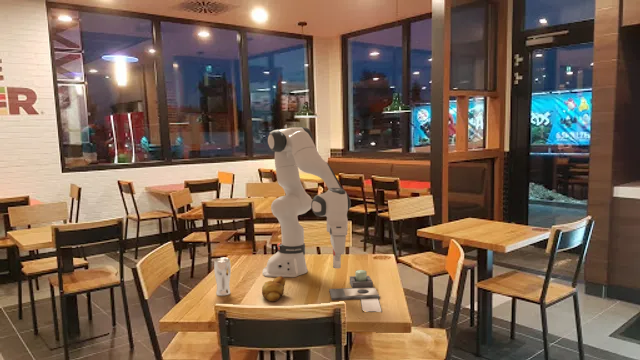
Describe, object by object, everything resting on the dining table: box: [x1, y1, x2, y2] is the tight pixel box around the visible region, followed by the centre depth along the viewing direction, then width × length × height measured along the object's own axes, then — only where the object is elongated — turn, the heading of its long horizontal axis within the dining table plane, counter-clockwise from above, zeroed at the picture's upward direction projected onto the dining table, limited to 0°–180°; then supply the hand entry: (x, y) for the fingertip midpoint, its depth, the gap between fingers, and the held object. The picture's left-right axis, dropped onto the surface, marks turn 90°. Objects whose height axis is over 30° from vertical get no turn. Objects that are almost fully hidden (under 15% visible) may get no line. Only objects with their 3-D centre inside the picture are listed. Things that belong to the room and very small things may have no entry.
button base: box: [349, 275, 374, 288], centre depth 205 cm, size 9×9×3 cm
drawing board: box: [328, 286, 381, 301], centre depth 194 cm, size 20×11×1 cm, turn 95°
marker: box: [332, 248, 342, 269], centre depth 192 cm, size 3×3×8 cm
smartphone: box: [359, 298, 383, 313], centre depth 183 cm, size 8×1×16 cm
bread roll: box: [261, 276, 286, 302], centre depth 191 cm, size 13×10×8 cm
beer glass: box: [213, 257, 232, 297], centre depth 196 cm, size 7×7×15 cm
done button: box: [354, 269, 368, 282], centre depth 205 cm, size 5×5×4 cm
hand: (336, 259), depth 192 cm, fingers closed on marker, 3 cm apart
